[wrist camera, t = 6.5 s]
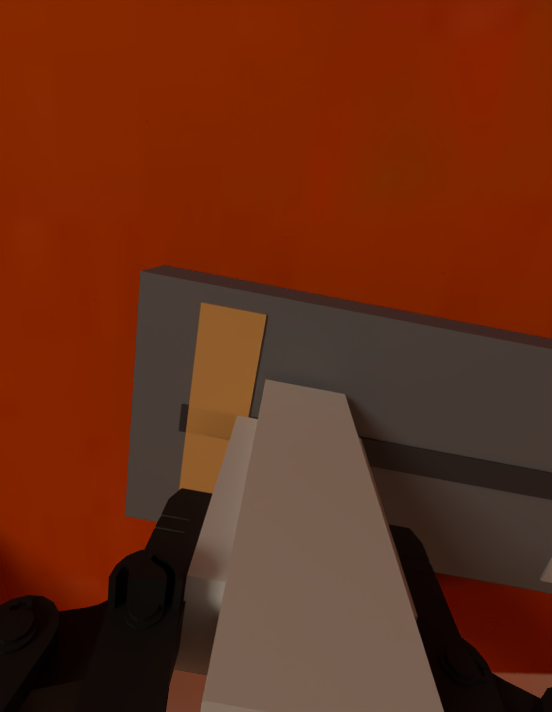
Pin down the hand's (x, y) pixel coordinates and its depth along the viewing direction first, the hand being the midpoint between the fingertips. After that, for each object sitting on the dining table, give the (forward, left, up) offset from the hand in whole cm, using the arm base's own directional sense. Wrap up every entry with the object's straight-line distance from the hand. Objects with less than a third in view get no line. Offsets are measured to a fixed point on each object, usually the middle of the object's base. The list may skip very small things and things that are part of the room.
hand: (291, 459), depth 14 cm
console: (-5, 0, -4) cm, 6 cm away
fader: (0, 0, -1) cm, 1 cm away
